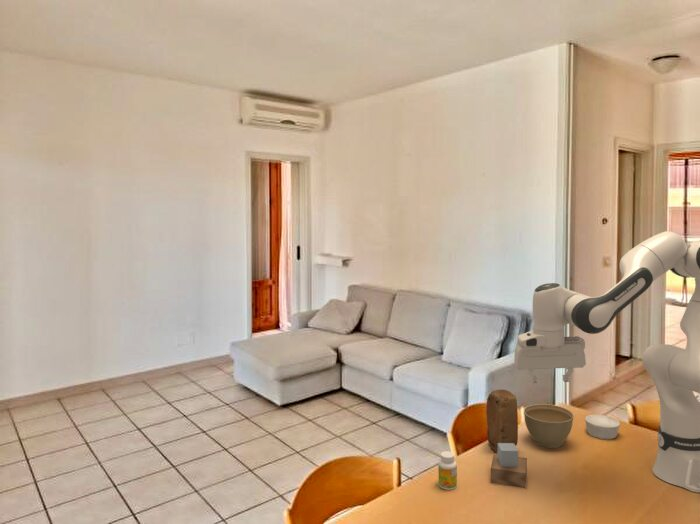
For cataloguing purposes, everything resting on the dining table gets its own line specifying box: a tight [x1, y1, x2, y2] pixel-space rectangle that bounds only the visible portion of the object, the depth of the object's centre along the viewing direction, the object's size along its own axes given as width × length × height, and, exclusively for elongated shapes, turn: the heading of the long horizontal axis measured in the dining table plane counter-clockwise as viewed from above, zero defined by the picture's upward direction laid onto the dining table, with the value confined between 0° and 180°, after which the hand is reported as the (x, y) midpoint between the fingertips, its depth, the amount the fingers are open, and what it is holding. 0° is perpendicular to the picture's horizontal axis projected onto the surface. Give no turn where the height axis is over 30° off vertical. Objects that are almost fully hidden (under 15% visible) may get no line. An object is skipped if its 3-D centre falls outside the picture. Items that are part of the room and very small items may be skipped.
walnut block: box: [490, 452, 528, 489], centre depth 157 cm, size 10×10×5 cm
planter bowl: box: [523, 403, 575, 449], centre depth 179 cm, size 16×16×11 cm
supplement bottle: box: [437, 450, 458, 491], centre depth 153 cm, size 5×5×10 cm
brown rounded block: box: [485, 389, 519, 453], centre depth 175 cm, size 11×8×20 cm
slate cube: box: [496, 443, 519, 467], centre depth 156 cm, size 5×5×5 cm
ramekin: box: [584, 414, 621, 440], centre depth 185 cm, size 11×11×5 cm
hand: (550, 381), depth 156 cm, fingers open, 8 cm apart
